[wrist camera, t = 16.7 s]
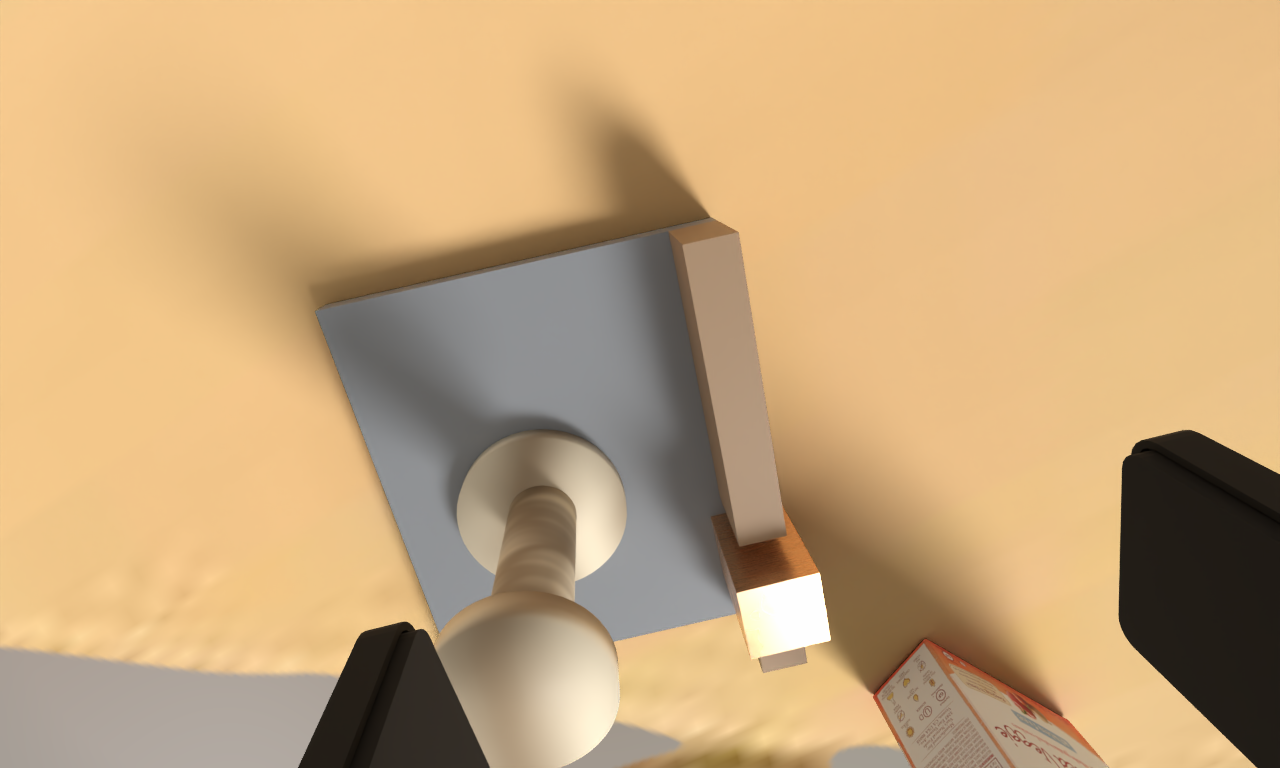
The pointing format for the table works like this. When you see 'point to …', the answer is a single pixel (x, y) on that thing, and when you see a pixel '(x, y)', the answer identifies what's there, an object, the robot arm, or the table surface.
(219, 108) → the table surface
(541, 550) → the bobbin
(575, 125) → the table surface
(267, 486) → the table surface
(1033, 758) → the cracker box
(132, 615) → the table surface
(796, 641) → the copper block
